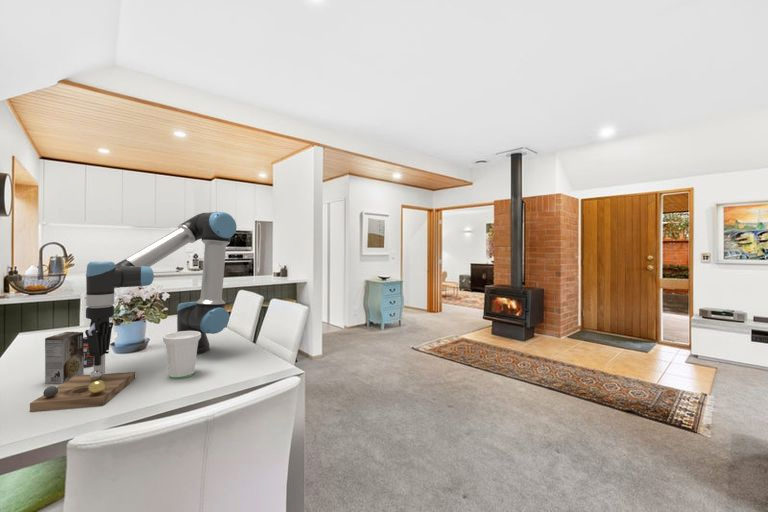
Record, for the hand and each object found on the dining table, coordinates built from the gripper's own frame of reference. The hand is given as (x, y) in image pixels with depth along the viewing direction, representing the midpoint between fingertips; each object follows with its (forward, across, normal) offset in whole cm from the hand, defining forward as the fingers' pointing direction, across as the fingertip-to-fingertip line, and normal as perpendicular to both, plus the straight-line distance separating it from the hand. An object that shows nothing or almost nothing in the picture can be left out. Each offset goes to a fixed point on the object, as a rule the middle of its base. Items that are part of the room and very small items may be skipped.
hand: (99, 373), depth 118 cm
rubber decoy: (0, +15, -6) cm, 16 cm away
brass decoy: (-1, +15, +6) cm, 16 cm away
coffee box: (+4, -9, -15) cm, 18 cm away
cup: (+4, -5, +24) cm, 25 cm away
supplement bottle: (+4, -24, -15) cm, 28 cm away
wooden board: (+4, +7, 0) cm, 8 cm away
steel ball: (0, +2, 0) cm, 2 cm away
